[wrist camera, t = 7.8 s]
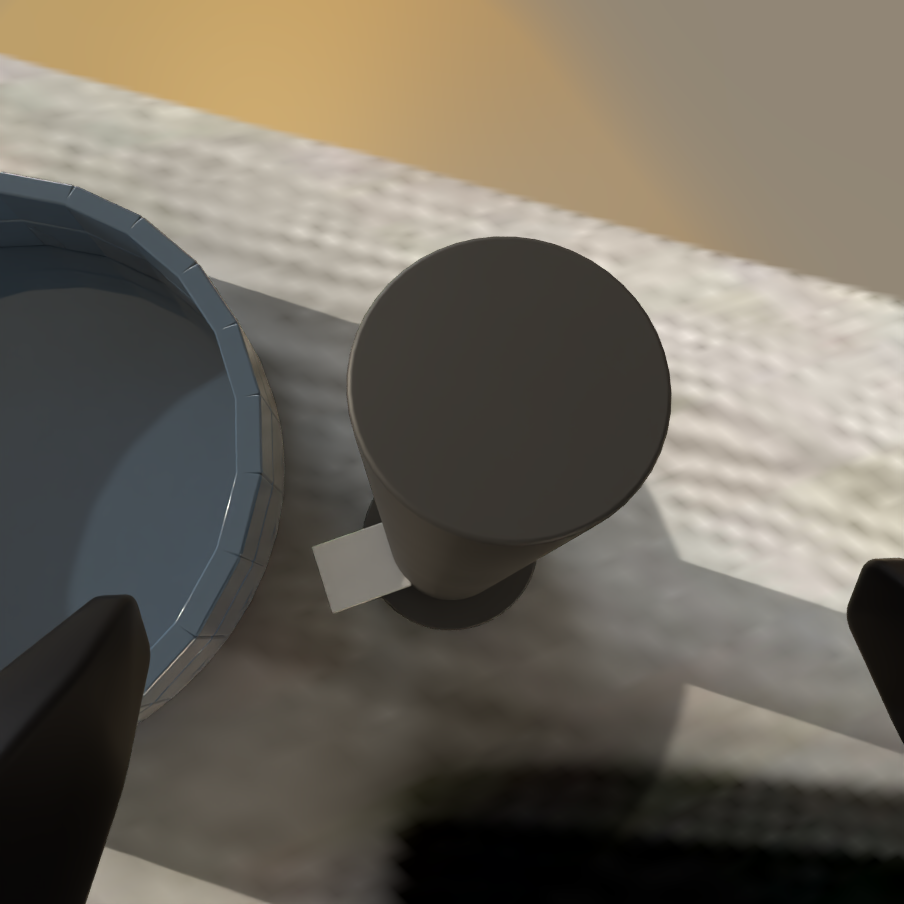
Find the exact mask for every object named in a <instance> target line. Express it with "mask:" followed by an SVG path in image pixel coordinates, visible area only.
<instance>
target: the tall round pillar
mask: <svg viewBox="0 0 904 904" xmlns="http://www.w3.org/2000/svg"><path fill="white" fill-rule="evenodd" d="M347 402H348V410H349V416H350V420H351V424H352V427H353V431H354V435H355V438H356V441H357V444H358V448H359V451H360V454H361V457H362V460H363V463H364V467H365V470H366V473H367V476H368V479H369V483H370V486H371V489H372V492H373V495H374V498H373V500H372V502H371V504H370V506H369V509H368V511H367V514H366V518H365V521H364V527H363V529H362V530H359V531H356V532H353V533H350V534H347V535H345V536H342V537H339V538H336V539H333V540H330V541H327V542H324V543H322V544H319V545H316V546H313V547H312V550H313V553H314V557H315V560H316V563H317V566H318V569H319V573H320V576H321V579H322V582H323V585H324V589H325V592H326V595H327V598H328V601H329V604H330V608H331V611H332V613H337V612H340V611H343V610H345V609H348V608H351V607H354V606H356V605H359V604H362V603H365V602H368V601H370V600H373V599H376V598H379V597H381V596H382V598H383V599H384V600H385V601H386V602H387V603H388V604H389V605H390V606H391V607H392V608H393V609H394V610H395V611H397V612H398V613H399V614H401V615H402V616H403V617H405V618H407V619H409V620H410V621H412V622H414V623H417V624H419V625H422V626H425V627H429V628H433V629H440V630H461V629H467V628H472V627H475V626H479V625H482V624H484V623H486V622H488V621H491V620H493V619H494V618H496V617H498V616H499V615H501V614H502V613H504V612H505V611H506V610H507V609H508V608H510V607H511V606H512V605H513V604H514V603H515V602H516V600H517V599H518V598H519V597H520V596H521V594H522V593H523V591H524V590H525V588H526V587H527V585H528V583H529V581H530V579H531V577H532V574H533V571H534V569H535V565H536V561H537V560H538V559H539V558H541V557H543V556H545V555H546V554H548V553H550V552H551V551H553V550H555V549H557V548H558V547H560V546H562V545H563V544H565V543H567V542H569V541H570V540H572V539H574V538H576V537H577V536H579V535H581V534H582V533H584V532H586V531H588V530H589V529H591V528H593V527H594V526H596V525H597V524H599V523H601V522H602V521H604V520H606V519H607V518H609V517H610V516H612V515H613V514H614V513H615V512H616V511H618V510H619V509H620V508H621V507H622V506H624V505H625V504H626V503H627V502H628V501H629V500H630V499H631V497H632V496H633V495H634V494H635V493H636V492H637V491H638V490H639V489H640V488H641V486H642V485H643V483H644V482H645V480H646V479H647V477H648V476H649V474H650V473H651V471H652V470H653V467H654V465H655V463H656V461H657V459H658V457H659V455H660V453H661V451H662V447H663V444H664V441H665V438H666V435H667V431H668V426H669V420H670V414H671V384H670V373H669V369H668V364H667V360H666V356H665V352H664V349H663V347H662V344H661V341H660V339H659V336H658V334H657V332H656V330H655V328H654V326H653V324H652V322H651V320H650V319H649V317H648V315H647V314H646V312H645V311H644V309H643V308H642V307H641V305H640V304H639V302H638V301H637V300H636V298H635V297H634V296H633V295H632V294H631V293H630V292H629V291H628V290H627V289H626V288H625V286H624V285H623V284H622V283H620V282H619V281H618V280H617V279H616V278H615V277H613V276H612V275H611V274H610V273H609V272H608V271H606V270H605V269H603V268H602V267H600V266H599V265H597V264H596V263H594V262H593V261H591V260H589V259H587V258H585V257H584V256H582V255H580V254H578V253H576V252H574V251H571V250H569V249H566V248H563V247H561V246H558V245H555V244H552V243H548V242H544V241H540V240H536V239H529V238H521V237H487V238H478V239H472V240H468V241H464V242H459V243H455V244H453V245H450V246H447V247H444V248H442V249H439V250H437V251H435V252H433V253H431V254H429V255H427V256H425V257H423V258H421V259H419V260H418V261H416V262H415V263H414V264H412V265H411V266H409V267H408V268H406V269H405V270H403V271H402V272H401V273H400V274H399V275H398V276H397V277H396V278H394V279H393V280H392V281H391V282H390V283H389V284H388V285H387V286H386V287H385V288H384V290H383V291H382V292H381V293H380V294H379V295H378V297H377V298H376V299H375V300H374V302H373V303H372V305H371V307H370V308H369V310H368V311H367V313H366V314H365V316H364V318H363V320H362V322H361V324H360V327H359V329H358V331H357V333H356V336H355V339H354V342H353V345H352V349H351V352H350V357H349V363H348V370H347Z"/></svg>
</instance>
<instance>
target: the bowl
mask: <svg viewBox="0 0 904 904" xmlns="http://www.w3.org/2000/svg"><path fill="white" fill-rule="evenodd" d="M284 475H285V458H284V448H283V437H282V428H281V424H280V420H279V416H278V412H277V408H276V404H275V399H274V396H273V394H272V391H271V389H270V386H269V384H268V381H267V379H266V376H265V373H264V370H263V367H262V363H261V361H260V359H259V357H258V356H257V354H256V352H255V350H254V349H253V347H252V345H251V343H250V342H249V340H248V338H247V336H246V335H245V333H244V331H243V330H242V328H241V326H240V324H239V323H238V321H237V319H236V318H235V316H234V315H233V313H232V312H231V310H230V309H229V307H228V306H227V304H226V303H225V302H224V300H223V299H222V297H221V296H220V294H219V293H218V291H217V290H216V288H215V287H214V285H213V284H212V282H211V281H210V279H209V278H208V276H207V275H206V273H205V272H204V270H203V269H202V267H201V266H200V265H199V264H198V263H197V261H196V260H194V259H193V258H192V257H191V256H190V255H188V254H187V253H186V252H185V251H184V250H182V249H181V248H180V247H179V246H178V245H176V244H175V243H174V242H173V241H172V240H170V239H169V238H168V237H167V236H166V235H164V234H163V233H162V232H161V231H160V230H158V229H157V228H156V227H155V226H154V225H153V224H151V223H150V222H149V221H148V220H147V219H145V218H143V217H142V216H141V215H139V214H136V213H134V212H132V211H130V210H128V209H125V208H123V207H121V206H119V205H117V204H115V203H112V202H110V201H108V200H106V199H104V198H102V197H99V196H97V195H95V194H93V193H91V192H88V191H86V190H84V189H82V188H80V187H77V186H73V185H70V184H65V183H59V182H54V181H49V180H43V179H38V178H33V177H27V176H22V175H17V174H11V173H6V172H0V671H1V670H2V669H3V668H5V667H6V666H7V665H9V664H10V663H11V662H12V661H14V660H15V659H16V658H17V657H19V656H20V655H21V654H22V653H24V652H25V651H26V650H28V649H29V648H30V647H31V646H33V645H34V644H35V643H36V642H38V641H39V640H40V639H41V638H43V637H44V636H45V635H47V634H48V633H49V632H50V631H52V630H53V629H54V628H55V627H57V626H58V625H59V624H61V623H62V622H63V621H64V620H66V619H67V618H68V617H69V616H71V615H72V614H73V613H74V612H76V611H77V610H78V609H80V608H81V607H82V606H83V605H85V604H86V603H87V602H88V601H90V600H91V599H93V598H95V597H97V596H102V595H123V594H127V595H131V596H132V597H134V599H135V600H136V602H137V604H138V607H139V610H140V614H141V617H142V620H143V624H144V627H145V630H146V634H147V637H148V640H149V644H150V664H149V669H148V674H147V679H146V684H145V689H144V693H143V698H142V703H141V708H140V713H139V717H138V722H137V724H139V723H140V722H142V721H143V720H145V719H146V718H147V717H149V716H150V715H151V714H153V713H154V712H155V711H156V710H158V709H159V708H160V707H162V706H163V705H164V704H165V703H167V702H168V701H169V700H171V699H172V698H173V697H175V696H176V695H177V694H178V693H179V692H180V691H181V690H182V689H183V688H184V687H185V686H186V685H187V684H188V683H189V682H190V681H191V680H192V679H193V678H194V677H195V676H196V675H197V674H198V673H199V672H200V671H201V670H202V669H203V668H204V667H205V666H206V665H207V664H208V663H209V661H210V660H211V659H212V658H213V656H214V655H215V654H216V653H217V651H218V650H219V649H220V648H221V646H222V645H223V644H224V643H225V641H226V640H227V639H228V637H229V636H230V635H231V633H232V632H233V630H234V628H235V627H236V625H237V624H238V622H239V620H240V619H241V617H242V615H243V614H244V612H245V611H246V609H247V607H248V606H249V604H250V602H251V600H252V598H253V596H254V594H255V592H256V590H257V587H258V585H259V583H260V581H261V579H262V576H263V574H264V572H265V570H266V568H267V564H268V561H269V558H270V555H271V552H272V548H273V545H274V542H275V539H276V536H277V532H278V527H279V521H280V515H281V510H282V504H283V498H284Z"/></svg>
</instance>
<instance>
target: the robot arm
mask: <svg viewBox="0 0 904 904" xmlns="http://www.w3.org/2000/svg"><path fill="white" fill-rule="evenodd" d="M847 621H848V625H849V628H850V630H851V632H852V635H853V637H854V639H855V641H856V643H857V646H858V648H859V650H860V652H861V654H862V657H863V659H864V661H865V663H866V665H867V667H868V670H869V672H870V674H871V676H872V678H873V681H874V683H875V685H876V687H877V689H878V692H879V694H880V696H881V698H882V700H883V703H884V705H885V707H886V709H887V711H888V714H889V716H890V718H891V720H892V722H893V724H894V726H895V728H896V730H897V732H898V734H899V736H900V738H901V740H902V742H903V744H904V559H902V558H883V559H872V560H869V561H868V562H867V563H866V564H865V565H864V566H863V568H862V570H861V572H860V575H859V578H858V580H857V583H856V585H855V588H854V591H853V593H852V596H851V598H850V601H849V604H848V607H847ZM149 664H150V644H149V640H148V637H147V634H146V630H145V627H144V624H143V620H142V617H141V614H140V610H139V607H138V604H137V602H136V600H135V599H134V597H132V596H131V595H127V594H123V595H102V596H97V597H95V598H93V599H91V600H90V601H88V602H87V603H86V604H85V605H83V606H82V607H81V608H80V609H78V610H77V611H76V612H74V613H73V614H72V615H71V616H69V617H68V618H67V619H66V620H64V621H63V622H62V623H61V624H59V625H58V626H57V627H55V628H54V629H53V630H52V631H50V632H49V633H48V634H47V635H45V636H44V637H43V638H41V639H40V640H39V641H38V642H36V643H35V644H34V645H33V646H31V647H30V648H29V649H28V650H26V651H25V652H24V653H22V654H21V655H20V656H19V657H17V658H16V659H15V660H14V661H12V662H11V663H10V664H9V665H7V666H6V667H5V668H3V669H2V670H1V671H0V904H86V901H87V898H88V895H89V892H90V889H91V886H92V883H93V880H94V877H95V874H96V871H97V868H98V864H99V861H100V858H101V855H102V852H103V849H104V846H105V843H106V840H107V837H108V834H109V831H110V828H111V825H112V822H113V819H114V816H115V813H116V810H117V807H118V803H119V800H120V797H121V793H122V790H123V787H124V782H125V778H126V774H127V770H128V765H129V760H130V756H131V751H132V746H133V741H134V736H135V732H136V727H137V722H138V717H139V713H140V708H141V703H142V698H143V693H144V689H145V684H146V679H147V674H148V669H149Z"/></svg>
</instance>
